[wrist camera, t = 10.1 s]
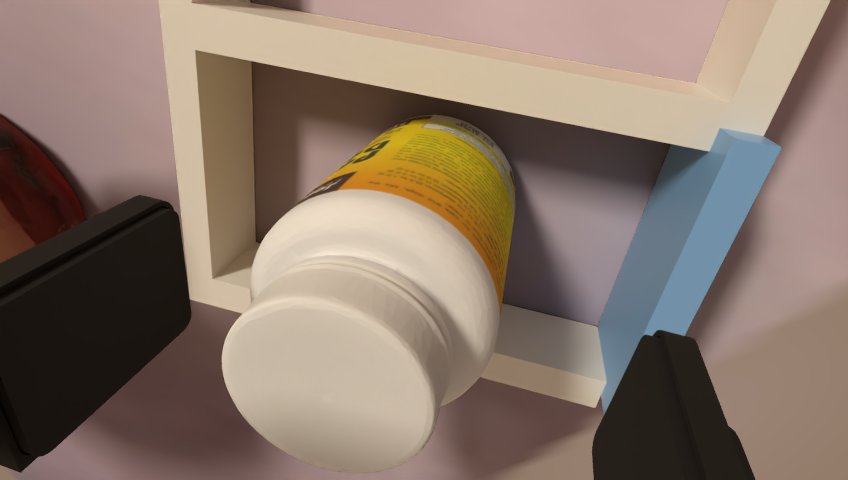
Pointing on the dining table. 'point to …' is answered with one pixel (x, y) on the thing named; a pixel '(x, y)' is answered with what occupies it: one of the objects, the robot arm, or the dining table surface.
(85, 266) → the robot arm
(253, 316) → the supplement bottle
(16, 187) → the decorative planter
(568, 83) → the white divided tray
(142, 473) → the dining table surface
